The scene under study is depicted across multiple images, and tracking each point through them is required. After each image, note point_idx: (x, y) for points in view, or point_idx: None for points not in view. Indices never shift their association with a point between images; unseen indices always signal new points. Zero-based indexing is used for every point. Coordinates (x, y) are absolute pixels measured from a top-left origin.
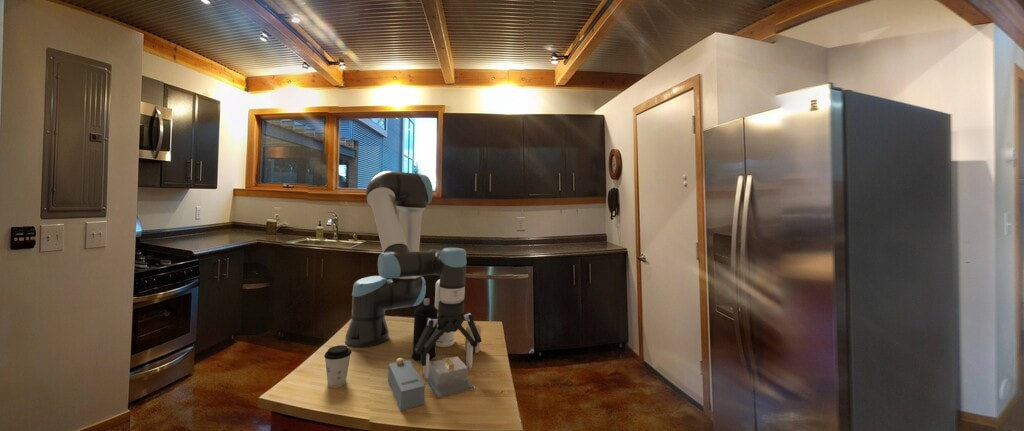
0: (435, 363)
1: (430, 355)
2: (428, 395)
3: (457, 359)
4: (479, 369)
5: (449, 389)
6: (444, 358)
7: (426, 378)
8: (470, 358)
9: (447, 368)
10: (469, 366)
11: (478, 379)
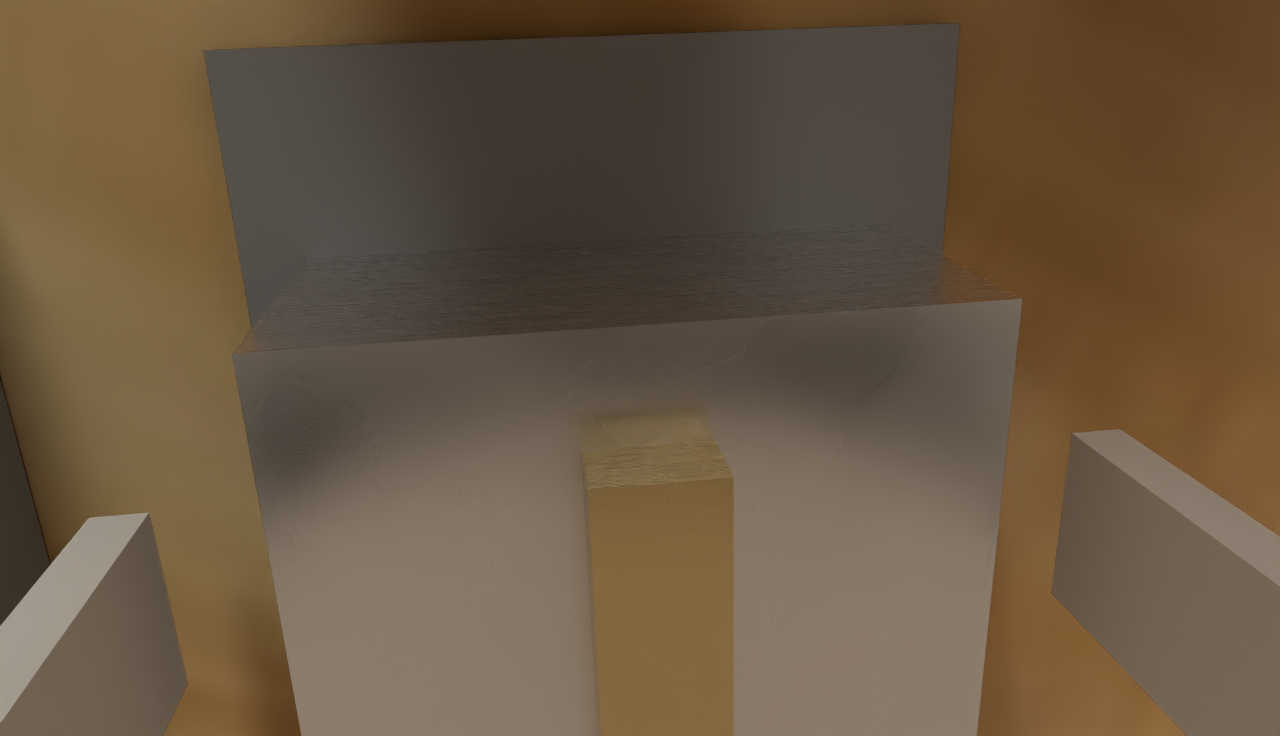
0: (376, 471)
1: None
2: (228, 715)
3: (948, 451)
4: (1257, 283)
5: None
6: (625, 492)
7: (252, 300)
8: (1176, 720)
9: None
10: (1065, 595)
11: None
